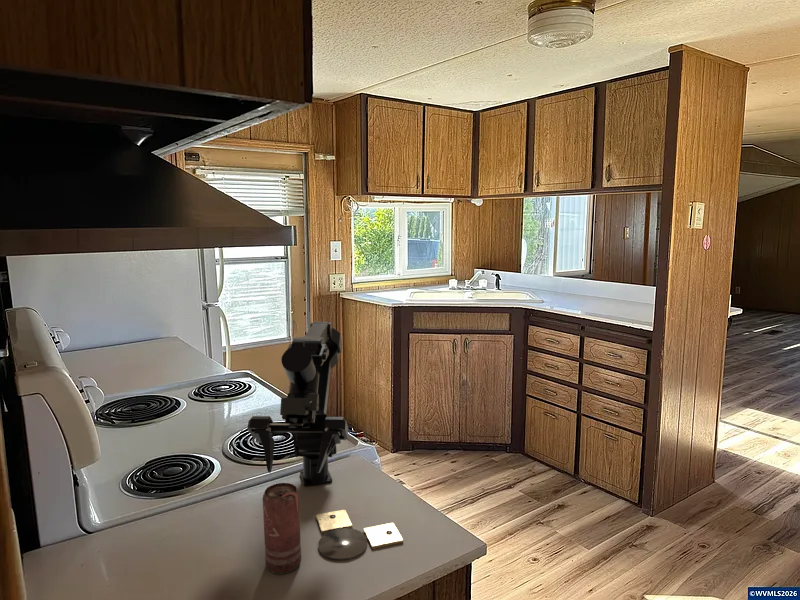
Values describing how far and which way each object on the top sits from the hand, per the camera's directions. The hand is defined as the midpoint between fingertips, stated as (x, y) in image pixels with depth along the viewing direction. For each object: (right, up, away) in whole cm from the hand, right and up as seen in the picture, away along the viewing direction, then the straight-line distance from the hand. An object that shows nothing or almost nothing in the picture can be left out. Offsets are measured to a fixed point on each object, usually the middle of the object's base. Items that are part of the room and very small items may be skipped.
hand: (293, 472), depth 103 cm
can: (0, -15, -6) cm, 16 cm away
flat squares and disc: (+11, -13, +4) cm, 17 cm away
